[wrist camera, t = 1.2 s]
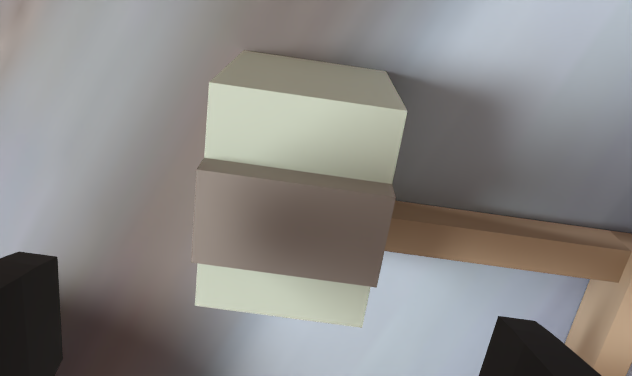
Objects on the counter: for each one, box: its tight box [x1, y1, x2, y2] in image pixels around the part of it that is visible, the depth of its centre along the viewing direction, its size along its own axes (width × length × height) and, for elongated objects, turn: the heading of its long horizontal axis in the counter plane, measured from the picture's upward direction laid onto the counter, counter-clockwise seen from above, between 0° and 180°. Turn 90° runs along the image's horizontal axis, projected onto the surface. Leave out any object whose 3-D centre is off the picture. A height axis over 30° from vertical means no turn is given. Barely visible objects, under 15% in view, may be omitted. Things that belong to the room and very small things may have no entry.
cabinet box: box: [191, 50, 407, 328], centre depth 15 cm, size 6×4×6 cm
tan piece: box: [384, 201, 632, 376], centre depth 19 cm, size 11×16×4 cm
